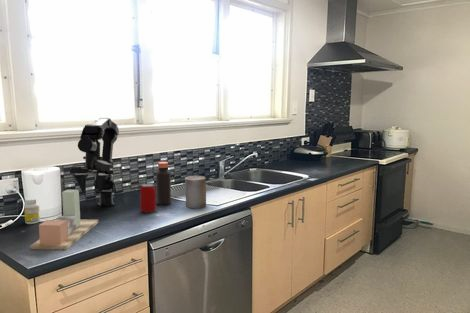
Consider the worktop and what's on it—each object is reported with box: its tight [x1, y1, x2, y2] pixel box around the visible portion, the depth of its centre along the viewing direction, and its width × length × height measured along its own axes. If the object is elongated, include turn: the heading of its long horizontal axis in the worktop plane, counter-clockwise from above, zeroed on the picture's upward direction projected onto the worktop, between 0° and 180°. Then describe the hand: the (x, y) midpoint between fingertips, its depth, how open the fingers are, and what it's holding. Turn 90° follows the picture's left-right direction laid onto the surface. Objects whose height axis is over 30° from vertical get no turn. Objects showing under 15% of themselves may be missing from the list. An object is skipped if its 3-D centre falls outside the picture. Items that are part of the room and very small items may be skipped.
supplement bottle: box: [23, 198, 41, 225], centre depth 149 cm, size 5×5×10 cm
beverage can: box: [139, 183, 157, 213], centre depth 166 cm, size 7×7×12 cm
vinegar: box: [155, 161, 172, 206], centre depth 178 cm, size 7×7×20 cm
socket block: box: [38, 219, 68, 244], centre depth 125 cm, size 5×7×7 cm
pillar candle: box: [184, 175, 207, 209], centre depth 174 cm, size 10×10×15 cm
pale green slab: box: [61, 189, 81, 228], centre depth 132 cm, size 17×4×14 cm, turn 179°
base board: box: [29, 215, 99, 251], centre depth 136 cm, size 28×12×7 cm, turn 179°
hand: (92, 191), depth 154 cm, fingers open, 9 cm apart
